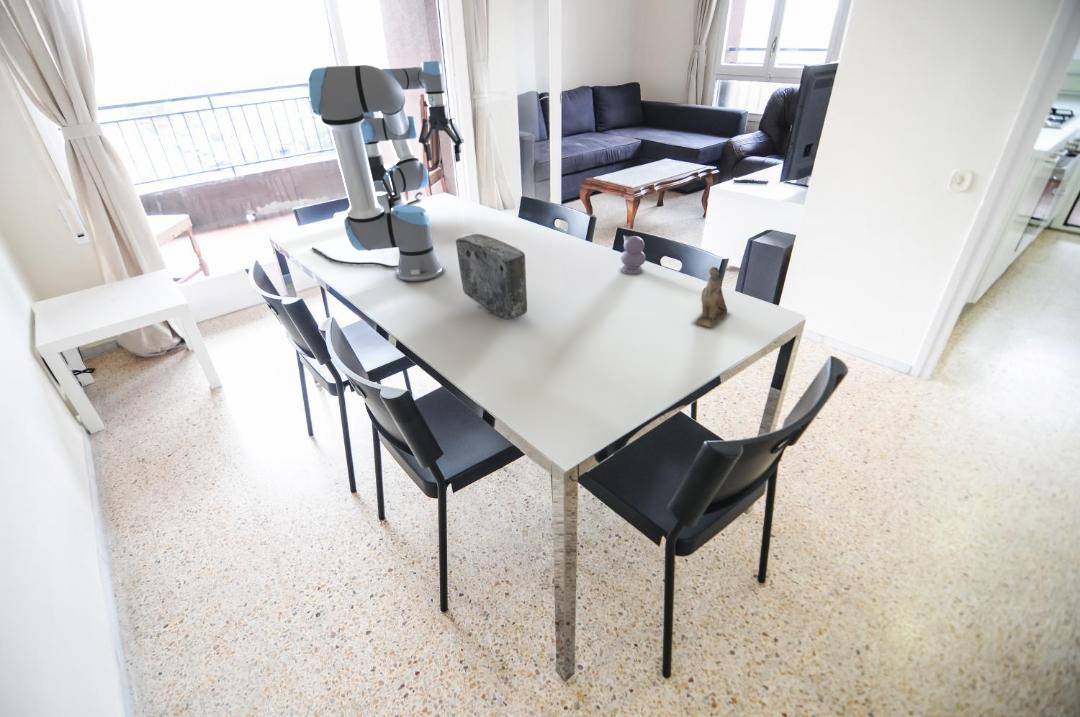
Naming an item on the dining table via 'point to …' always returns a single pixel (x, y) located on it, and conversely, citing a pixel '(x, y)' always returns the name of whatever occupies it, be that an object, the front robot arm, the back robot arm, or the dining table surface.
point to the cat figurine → (633, 254)
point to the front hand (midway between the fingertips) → (383, 215)
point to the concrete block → (493, 274)
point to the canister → (383, 200)
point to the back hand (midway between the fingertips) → (443, 161)
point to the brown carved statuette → (712, 301)
